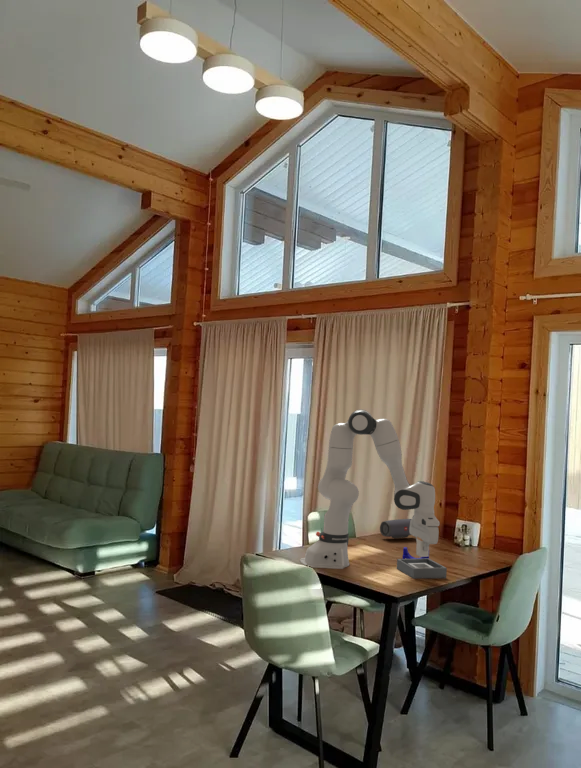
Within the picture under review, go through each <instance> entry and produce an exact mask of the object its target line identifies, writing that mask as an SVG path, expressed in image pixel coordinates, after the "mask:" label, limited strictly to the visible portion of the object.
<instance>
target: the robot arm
mask: <svg viewBox="0 0 581 768" xmlns="http://www.w3.org/2000/svg"><path fill="white" fill-rule="evenodd" d="M357 435H361V436H362V435H367V436H368V435H370V437H371V439H372V441H373V445H374V447H375V450H376V452H377V454H378V456H379V459H380V460H381V462H383V463H384V464H385V466H386V467H387V468H388V470H389V473H390V476H391V479H392V481H393V486H394V492H393V502H394V504H395V506H396V507H397V508H398V509H400V510H404V511H407V510H408V511H409V510H413V515H412V517H411V518H410V519H411V522H410V529H409V532H410V534H411V535H410V536H413V537H415V541H416V543H417V537H419V538H421V539H422V540H423V541H424V547H423V551H428V547H429V548H430V545H437V544H438V542H439V535H440V534H439V533H440V532H439V529H440V528H439V526H440V521H439V519H438V518H437V517H436V515H435V508H434V507H435V504H436V489H435V486H434V485H433V484H432V483H430V482H428V481H424V480H419V481H417V482H415V483H413V484H410V482H409V481H408V478H407V476H406V475H407V474H405V472H406V471H405V470H404V467H403V460H402V458H403V457H402V455H403V454H402V447H401V443H400V440H399V439H400V438H399V436H398V434H397V432H396V429H395V427H394V425H393V423H392V421H390V419H387V418H379V419H375V418H373V416H372V414H371V412H369V411H367V410H366V409H356V410H354V411H353V412H351V413H350V416H349V418H348V420H347V421H346V422H339V423H336V424H334V425H333V426H332V427H331V430H330V435H329V441H328V453H327V463H326V467H325V471H324V474H323V476H322V477H321V479H320V480H319V481H318V485H317V490H318V492H319V493H320V494H321V496H323V497H324V498H325V499H327V500H330V503H329V507H328V509H327V511H326V512H325V514H324V517H323V531H322V532H320V531H316V533H315V536H316V537H318V540H317V541H316V542H314V543H313V544H311V545H310V546H309V547H307V548H306V550H305V554H304V557H302V558H300V559H299V562H300V563H301V564H302V565H304V566H305V565H308V566H311V567H310V568H313V569H314V568H315V569H316V568H317V569H318V568H320V569H332V570H333V569H334V570H337V569H338V570H343V569H345V568H347V567H349V566H350V560H349V551H348V545H349V539H350V538H349V520H350V519H349V518H350V514H351V510H352V507H353V505H354V504H355V503H356V502H357V501H358V499H359V495H360V491H359V489H358V486H357V485H355V483H353V482H352V481H351V480H347V479H346V477H347V473H348V472H349V470H350V469H351V467H352V465H353V452H354V451H353V450H354V439H355V437H356V436H357ZM308 566H307V567H308Z"/></svg>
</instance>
